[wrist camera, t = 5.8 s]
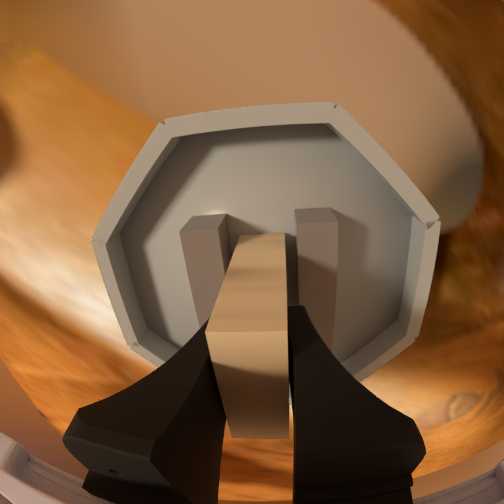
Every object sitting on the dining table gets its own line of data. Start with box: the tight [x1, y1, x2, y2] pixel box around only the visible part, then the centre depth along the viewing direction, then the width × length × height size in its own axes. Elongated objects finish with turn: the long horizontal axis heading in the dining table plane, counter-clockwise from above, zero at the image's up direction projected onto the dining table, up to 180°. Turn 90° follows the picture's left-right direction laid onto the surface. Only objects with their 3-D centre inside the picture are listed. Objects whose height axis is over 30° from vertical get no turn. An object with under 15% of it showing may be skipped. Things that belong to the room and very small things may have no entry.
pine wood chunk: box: [205, 233, 289, 439], centre depth 11 cm, size 5×2×7 cm, turn 5°
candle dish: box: [92, 102, 441, 405], centre depth 14 cm, size 16×16×3 cm
